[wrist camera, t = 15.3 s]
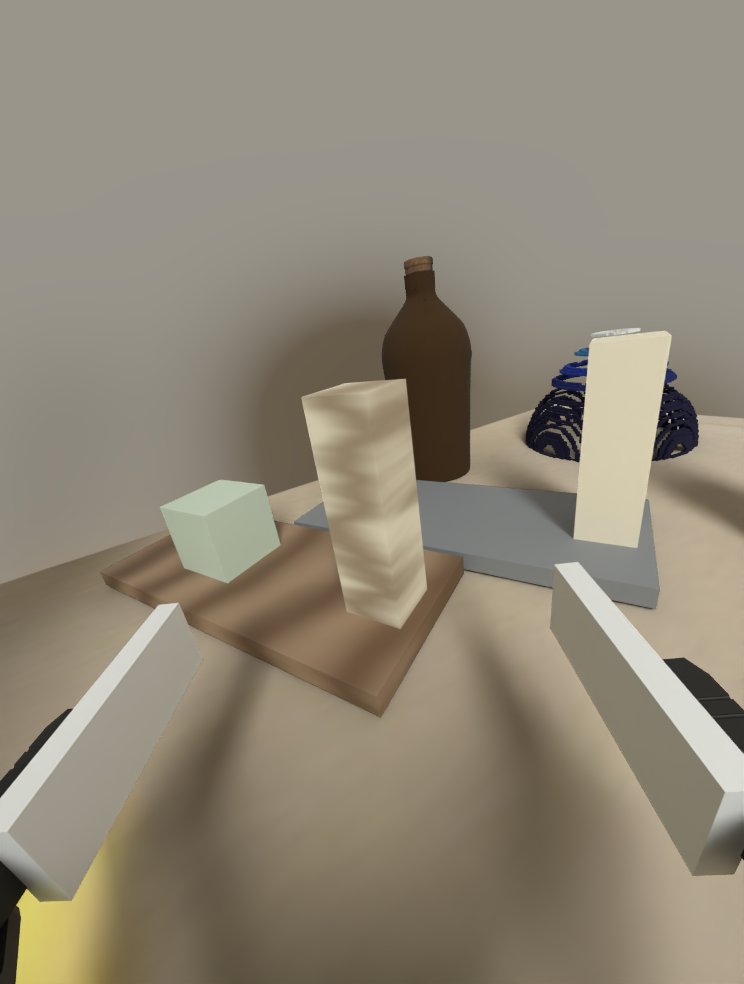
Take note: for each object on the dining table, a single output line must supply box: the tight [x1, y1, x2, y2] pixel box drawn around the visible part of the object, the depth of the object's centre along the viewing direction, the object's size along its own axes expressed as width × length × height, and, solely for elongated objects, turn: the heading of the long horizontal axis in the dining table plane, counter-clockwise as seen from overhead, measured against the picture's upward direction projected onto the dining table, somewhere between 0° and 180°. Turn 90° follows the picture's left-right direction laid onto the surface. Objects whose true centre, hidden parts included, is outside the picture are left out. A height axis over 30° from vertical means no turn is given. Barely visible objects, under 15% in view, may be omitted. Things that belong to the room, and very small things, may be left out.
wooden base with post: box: [100, 379, 464, 717], centre depth 29 cm, size 30×13×16 cm, turn 59°
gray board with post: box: [294, 331, 672, 609], centre depth 33 cm, size 30×13×16 cm, turn 59°
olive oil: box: [382, 256, 471, 482], centre depth 46 cm, size 11×11×25 cm
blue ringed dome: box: [526, 328, 699, 462], centre depth 50 cm, size 20×20×14 cm
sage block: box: [160, 480, 281, 583], centre depth 32 cm, size 6×6×6 cm
